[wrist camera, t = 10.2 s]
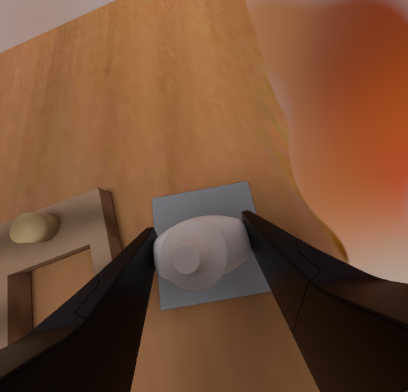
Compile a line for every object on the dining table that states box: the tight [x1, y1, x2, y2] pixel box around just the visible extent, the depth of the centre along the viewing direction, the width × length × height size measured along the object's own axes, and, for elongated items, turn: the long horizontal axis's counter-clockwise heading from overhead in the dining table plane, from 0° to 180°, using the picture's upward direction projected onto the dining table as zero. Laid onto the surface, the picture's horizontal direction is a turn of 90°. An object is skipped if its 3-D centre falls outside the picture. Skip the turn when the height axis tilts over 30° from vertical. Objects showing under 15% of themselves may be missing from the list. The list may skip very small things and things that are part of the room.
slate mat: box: [152, 181, 272, 310], centre depth 17 cm, size 12×12×1 cm
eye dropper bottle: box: [153, 215, 251, 292], centre depth 10 cm, size 4×6×12 cm
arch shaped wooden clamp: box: [0, 188, 122, 349], centre depth 15 cm, size 15×13×4 cm
